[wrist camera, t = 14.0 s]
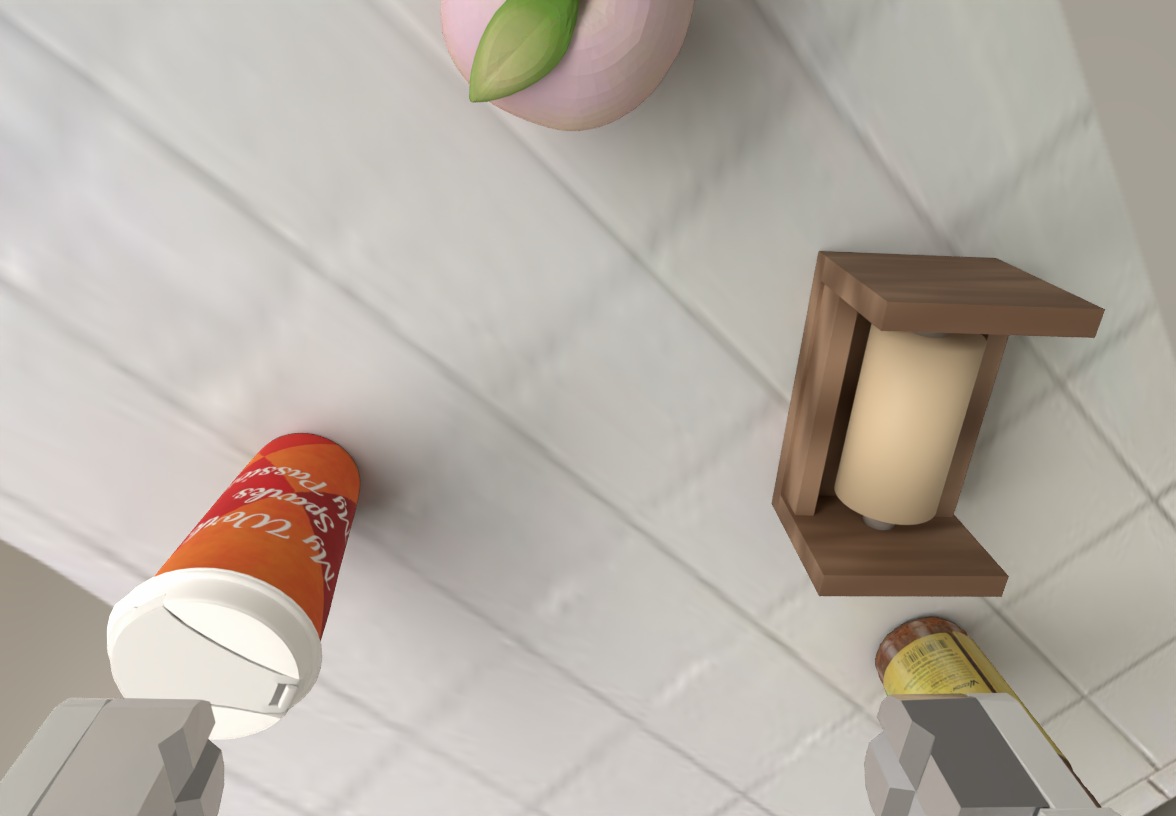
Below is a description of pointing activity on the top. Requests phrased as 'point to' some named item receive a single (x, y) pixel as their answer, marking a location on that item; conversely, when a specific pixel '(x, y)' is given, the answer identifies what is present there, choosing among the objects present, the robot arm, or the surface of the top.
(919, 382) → the roll
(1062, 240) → the top surface
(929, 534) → the holder
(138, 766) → the robot arm
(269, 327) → the top surface
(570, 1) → the decorative fruit
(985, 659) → the sauce bottle
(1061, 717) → the top surface
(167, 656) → the paper cup
